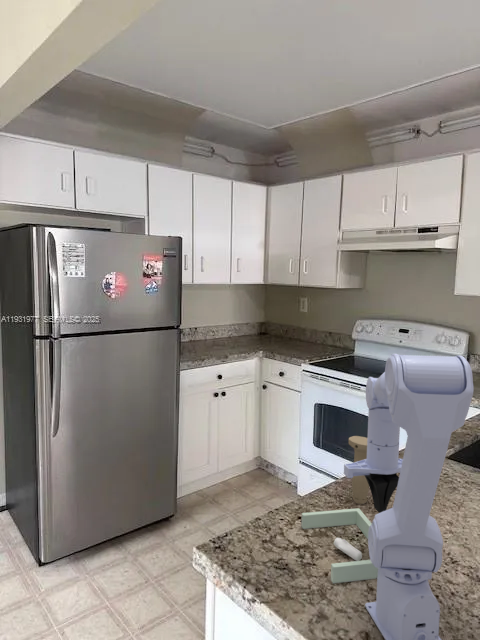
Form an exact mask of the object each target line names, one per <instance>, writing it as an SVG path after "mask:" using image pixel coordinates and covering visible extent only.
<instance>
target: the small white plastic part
mask: <svg viewBox="0 0 480 640" xmlns="http://www.w3.org/2000/svg"><path fill="white" fill-rule="evenodd" d="M333 545H334V546H335V548H336V549H339V550H340V551H342V552H343V553H344V554H346V555H347V556H348V557H350V558H352V559H353V561H361V559H362V560H365V559H363V558H362V557H363V553H362V551H361V550H359V549H357V548H356V547H354V546H353V545H352V544H351V543H349V541H347V540H346V539H345V538H341V537H339V536H337V537H335V539H334V541H333Z"/></svg>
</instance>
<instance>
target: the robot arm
mask: <svg viewBox="0 0 480 640" xmlns="http://www.w3.org/2000/svg"><path fill="white" fill-rule="evenodd" d="M384 367H385V369H384V372H383V373H382V374H381V375H380V376H378V377H373V376H368V378H367V379H366V385H365V400H366V406H367V408H368V414H367V415H368V420H367V437H366V438H367V459H364V460H361V461H357V462H354V461H353V462H351V463H344V465H343V474H344V475H345V477H346V478H347V479H352V478H353V476H362V475H364V476H365V478H366V480H367V482H368V484H369V490H370V493H371V496H372V501H373V509H375V510H376V511H377V512H378V513H376V514H375V515H374V518H373V519H372V522H371V523H372V524H371V525H370V527H369V531H368V539H367V545H368V554H369V560H371V562H372V564H373V565H374V566H375V567H376V568H378V575H377V578H376V579H377V580H376V600H375V601H373V602H372V601H371V602H366V603H365V604H364V605H365V609H366V610H367V612H368V613H369V615H370V617H371V618H372V620H373V623H375V625H376V627H377V628H378V630H379V632H380V634H381V636H382V637H383V638H384V640H442V638H441V636H439V630H440V616H441V615H440V614H441V609H440V608H441V607H440V603H439V600H438V599H437V598H436V596H435V595H434V593H433V591H432V588H431V586H430V582H429V580H432V578H433V577H432V576H433V573H437V572H438V571H439V570H440V568H441V567H442V563H443V546H444V539H443V535H442V532H441V529H440V526H439V525H438V522H437V521H436V519H435V518H434V516H431V515H430V514H431V512H432V511H431V510H432V507H433V504H434V503H433V502H434V500H435V496H436V493H437V488H438V485H439V481H440V478H441V473H442V470H443V467H444V463H445V459H446V455H447V452H448V448H449V446H450V445H449V444H450V440H451V437H452V433H453V432H455V431H457V430H459V429H460V428H462V427H463V426H464V425H465V422H466V418H467V416H468V413H469V410H470V407H471V403H472V400H473V396H474V391H475V390H474V389H475V388H474V379H473V370H472V367H471V364H470V363H469V361H468V360H467V359H466V357H464V356H463V355H458V354H457V355H455V356H447V355H445V356H444V355H443V356H442V355H419V354H418V355H417V354H416V355H415V354H413V355H412V354H411V355H410V354H398V353H392V354H390V355H389V357H388V358H387V359H386V362H385V366H384ZM401 429H403V430H404V431H405V432H406V436H407V437H406V443H405V448H404V453H403V456H402V458H399V454H400V436H401V435H400V432H401ZM397 474H399V475H397ZM395 490H396V491H395ZM394 492H395V494H394V499H393V500H394V501H393V504H392V507H391V508H388V506H389V503H390V500H391V497H392V495H393V493H394Z"/></svg>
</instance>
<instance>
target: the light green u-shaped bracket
mask: <svg viewBox="0 0 480 640" xmlns="http://www.w3.org/2000/svg"><path fill="white" fill-rule="evenodd" d="M371 524H372V522H371V520H370V519H369V517H367V516H366V515H365V514H364V513H363V511H362V510H361V509H360V508H359V507H358V508H349V509H348V508H347V509H344V508H343V509H336V510H335V509H334V510H322V511H311V512H301V526H300V527H301V528H302V529H303V530H307V529H315V528H316V529H318V528H327V527H328V528H330V527H340V526H350V525H356V527H358V528H359V530H360V532H362V534H363V536H365V538H366V539H367V540H368V531H369V527H370V525H371ZM330 566H331V567H330V581H331V583H332V584H340V583H341V584H342V583H348V582H357V581H366V580H367V581H368V580H375V579H377V575H378V568H376V567H375V566H374V565H373V564H372V562H371V560H370V559H364V560H363V559H362V560H359V561H356V560H353V561H343V562H336V563H331V565H330Z"/></svg>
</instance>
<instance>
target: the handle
mask: <svg viewBox="0 0 480 640" xmlns="http://www.w3.org/2000/svg"><path fill="white" fill-rule="evenodd" d="M367 438H368V437H365V436H359V435H353V436H350V437H348V445H349V446H350V447H351V448H353V451H354V455H353V456H354V457H353V463H354V462H357V461H361V460H364V459H367ZM351 487H352V488H351V491H352V501H354V503H355V504H360V505H365V504H367V502H368V495H369V490H370V487H369V484H368V482H367V480H366V478H365V476H364V475H362V476H353V478H351Z"/></svg>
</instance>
